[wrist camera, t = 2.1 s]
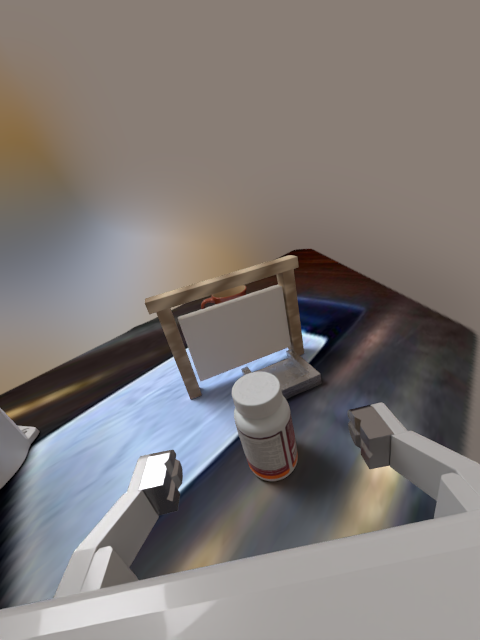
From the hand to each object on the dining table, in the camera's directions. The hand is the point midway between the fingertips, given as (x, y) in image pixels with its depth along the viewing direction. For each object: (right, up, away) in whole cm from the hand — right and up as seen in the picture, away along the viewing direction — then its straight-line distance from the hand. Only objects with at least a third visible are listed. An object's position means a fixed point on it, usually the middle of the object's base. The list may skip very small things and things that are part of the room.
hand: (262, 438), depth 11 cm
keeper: (+6, -5, +32) cm, 33 cm away
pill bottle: (+3, -12, +19) cm, 22 cm away
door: (0, -2, +35) cm, 35 cm away
